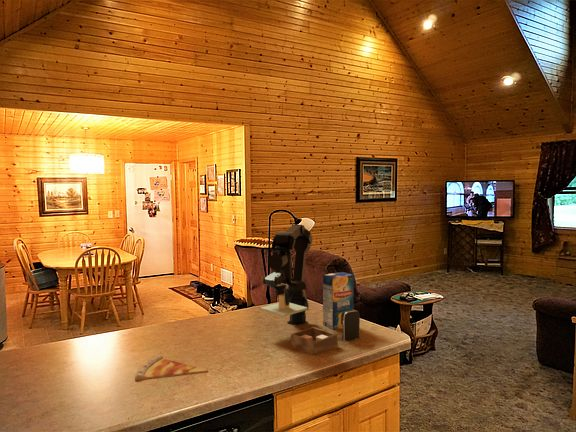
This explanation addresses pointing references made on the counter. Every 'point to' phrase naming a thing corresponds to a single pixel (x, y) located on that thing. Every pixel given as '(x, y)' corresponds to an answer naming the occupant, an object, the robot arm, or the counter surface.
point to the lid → (283, 307)
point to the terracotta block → (307, 337)
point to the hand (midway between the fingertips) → (284, 304)
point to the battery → (350, 324)
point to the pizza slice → (164, 368)
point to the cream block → (320, 337)
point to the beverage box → (337, 298)
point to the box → (314, 341)
